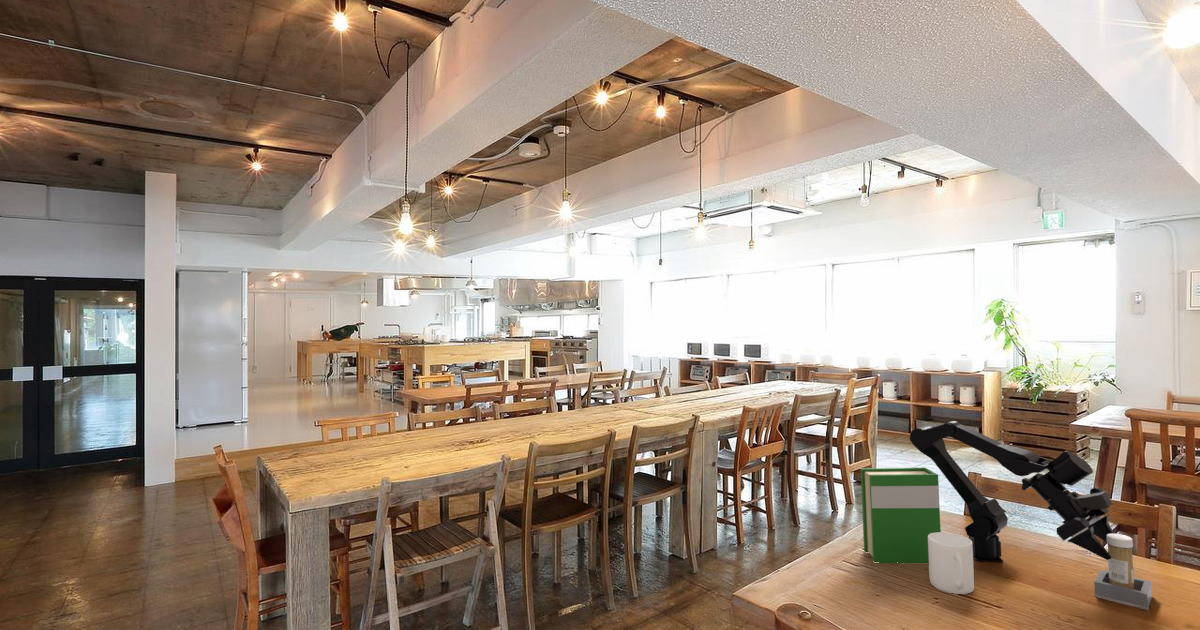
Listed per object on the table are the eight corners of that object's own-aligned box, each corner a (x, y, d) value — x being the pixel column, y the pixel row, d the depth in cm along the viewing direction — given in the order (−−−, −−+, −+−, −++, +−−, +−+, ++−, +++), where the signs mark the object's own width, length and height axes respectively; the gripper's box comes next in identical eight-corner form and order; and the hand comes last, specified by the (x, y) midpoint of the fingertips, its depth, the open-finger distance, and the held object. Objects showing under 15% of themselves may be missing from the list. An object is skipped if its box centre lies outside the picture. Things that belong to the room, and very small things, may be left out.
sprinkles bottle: (1140, 597, 132) (1137, 538, 132) (1125, 599, 131) (1122, 540, 131) (1118, 588, 136) (1116, 531, 136) (1103, 590, 135) (1101, 533, 135)
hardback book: (874, 563, 156) (870, 475, 156) (864, 552, 163) (860, 468, 163) (941, 563, 154) (938, 474, 154) (928, 552, 161) (925, 467, 162)
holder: (1147, 610, 127) (1147, 594, 127) (1094, 596, 134) (1094, 581, 134) (1152, 596, 133) (1151, 581, 133) (1101, 584, 140) (1100, 569, 140)
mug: (957, 576, 146) (955, 531, 146) (991, 599, 134) (989, 549, 134) (921, 579, 146) (919, 533, 146) (952, 601, 134) (950, 551, 134)
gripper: (1071, 485, 133) (1136, 547, 124) (1097, 471, 144) (1158, 527, 135) (1032, 510, 140) (1091, 571, 131) (1059, 494, 150) (1115, 550, 141)
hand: (1115, 553), depth 134 cm, fingers open, 9 cm apart
